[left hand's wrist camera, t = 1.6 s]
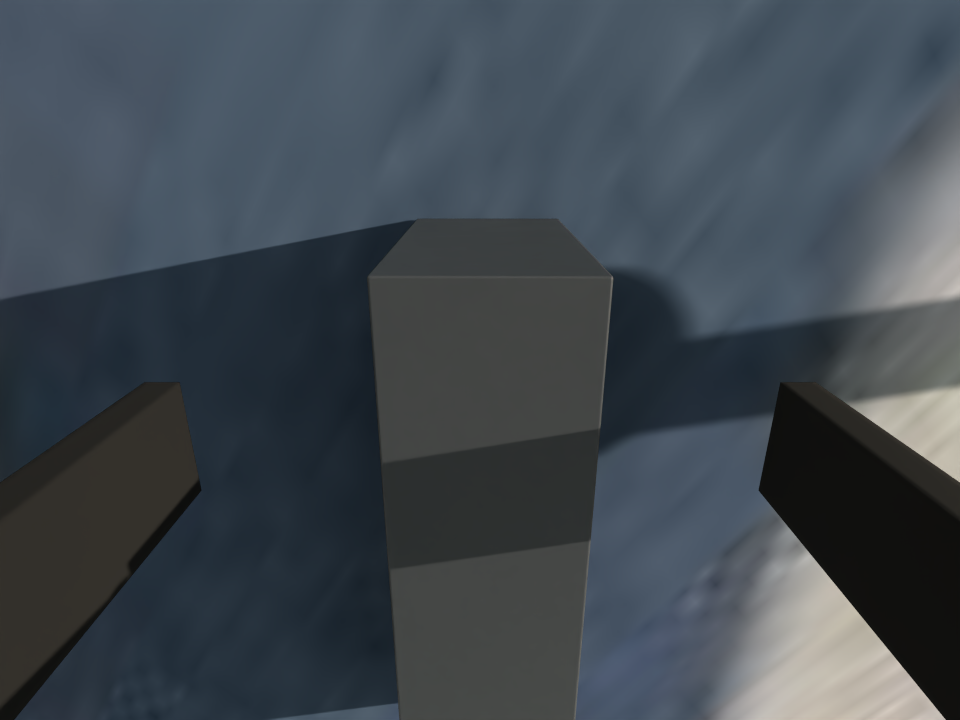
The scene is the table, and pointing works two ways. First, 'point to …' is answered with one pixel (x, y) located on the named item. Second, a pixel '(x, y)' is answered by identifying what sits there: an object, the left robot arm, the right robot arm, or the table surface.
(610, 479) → the table surface
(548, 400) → the bar
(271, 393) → the table surface
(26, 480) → the left robot arm
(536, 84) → the table surface
